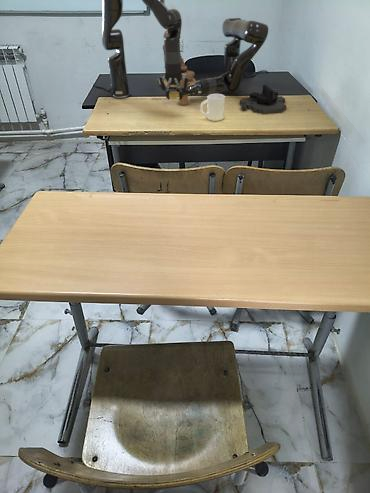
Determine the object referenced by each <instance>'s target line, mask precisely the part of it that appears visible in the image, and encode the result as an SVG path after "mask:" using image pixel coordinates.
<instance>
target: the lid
mask: <svg viewBox="0 0 370 493" xmlns="http://www.w3.org/2000/svg"><path fill="white" fill-rule="evenodd" d="M169 97H170V99H178V98H179V92H176V90H174V91H170V93H169Z"/></svg>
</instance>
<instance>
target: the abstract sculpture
mask: <svg viewBox="0 0 370 493" xmlns="http://www.w3.org/2000/svg"><path fill="white" fill-rule="evenodd" d="M285 103H286V98H285V97H284V96H282V95H280V96H279V92H278V91H274V90H273V89H272V88H271V87H270V86H268V85H267V84H263V85H262V92H261V93H259V92H251V93H249V96H248V97H244V98H243V97H242V98H241V99H239V104H240V105H241V106H240V108H241V110H242V111H243V112H244V111H247V109H248V110H252V111H253V112H254V113H259V114H263V115H264V114H265V115H266V114H276V113H283V111H285V110H287V105H286V104H285Z"/></svg>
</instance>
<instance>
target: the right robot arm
mask: <svg viewBox="0 0 370 493" xmlns="http://www.w3.org/2000/svg"><path fill="white" fill-rule="evenodd" d="M221 29H222V34H223V36H224V37H225V38H233V39H231V40H230V41H229V42H226V43H225V44H224V52H223V73H222V74H221V75H219V76H215V77H208V78H203V79H198V80H196V81H197V82H196V84H192V85H190V83H188V90H185V91H183V95H187V94H188V96H203V95H210V94H213V93H215V92H220V91H223V90H224V89H225V86H226V88H227V90H228V91H229V92H235V91H237V90H238V89H239V87H240V86H241V82H242V80H243V77H244V78H246V79H247V78H249V79H250V78H253V77H256V75H257V74H260V73H267V74H269V71H268V70H265V69H263V70H258V71H255V72H254V74H251V75H250V76H249V75H246V74H245V70H246V69H247V66H248V65H249V63H250V62H251V61H252V59H253V58H254V56H256V55H257V53H258V52H259V50H260V49H261V48H262V46H263V45H264V43H265V42H266V41H267V38H268V35H269V26H268V24H266V23H264V22H260V21H256V20H246V19H241V17H230V18H226V19H224V20H223V21H222V27H221ZM242 41H244V42H246V43H247V44H251V45H250V46H249V47H248V48H246V49H245V50H243V51H242V52H241V44H242ZM175 91H176V92H179V89H178V87H176V90H175Z"/></svg>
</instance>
